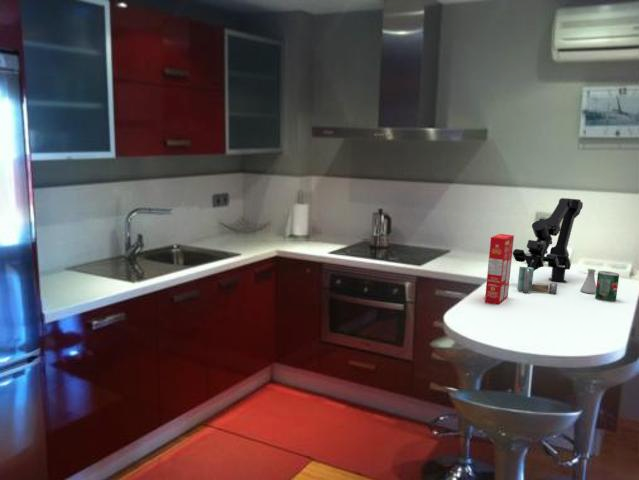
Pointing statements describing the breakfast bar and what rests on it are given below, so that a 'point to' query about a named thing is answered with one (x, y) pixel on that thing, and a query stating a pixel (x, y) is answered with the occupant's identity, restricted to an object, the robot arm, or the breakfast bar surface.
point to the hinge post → (552, 288)
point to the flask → (589, 283)
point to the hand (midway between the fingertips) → (528, 273)
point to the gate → (532, 286)
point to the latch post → (526, 281)
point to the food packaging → (499, 268)
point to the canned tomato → (607, 286)
